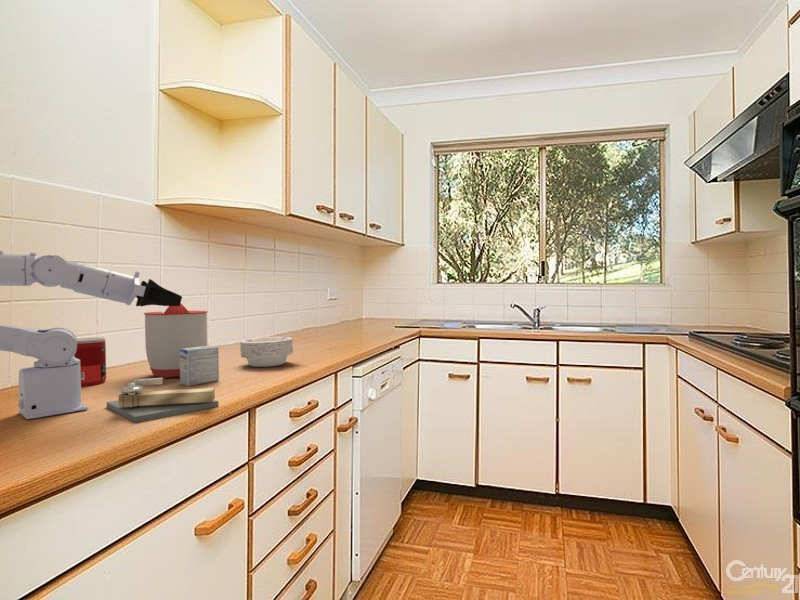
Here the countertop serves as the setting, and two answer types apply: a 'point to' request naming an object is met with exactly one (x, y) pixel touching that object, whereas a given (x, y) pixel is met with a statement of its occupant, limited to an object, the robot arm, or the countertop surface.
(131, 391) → the pintle
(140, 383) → the keeper
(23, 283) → the robot arm
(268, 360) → the grey stone bowl
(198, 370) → the medicine box
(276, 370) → the countertop surface
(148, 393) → the link
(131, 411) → the base plate
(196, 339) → the citrus juicer
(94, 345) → the canned food
